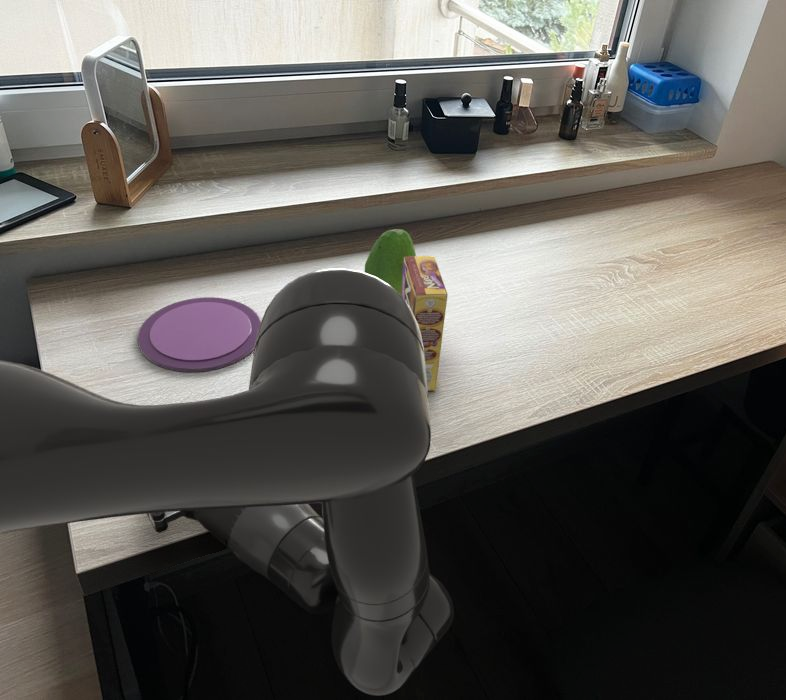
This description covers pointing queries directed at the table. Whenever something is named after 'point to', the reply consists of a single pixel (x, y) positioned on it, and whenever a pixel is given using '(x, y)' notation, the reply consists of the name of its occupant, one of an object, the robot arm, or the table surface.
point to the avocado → (390, 257)
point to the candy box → (426, 307)
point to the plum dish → (199, 334)
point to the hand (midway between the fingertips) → (156, 434)
